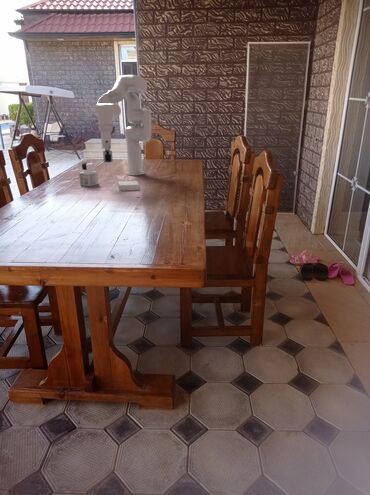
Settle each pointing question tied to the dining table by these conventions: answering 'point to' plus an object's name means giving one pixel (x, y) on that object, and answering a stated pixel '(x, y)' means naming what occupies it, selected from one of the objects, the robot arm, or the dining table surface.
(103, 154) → the blue block
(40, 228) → the dining table surface
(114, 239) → the dining table surface
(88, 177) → the container
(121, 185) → the base tile
